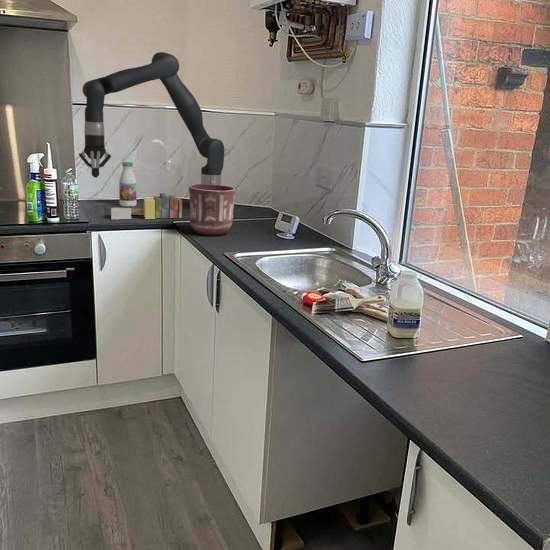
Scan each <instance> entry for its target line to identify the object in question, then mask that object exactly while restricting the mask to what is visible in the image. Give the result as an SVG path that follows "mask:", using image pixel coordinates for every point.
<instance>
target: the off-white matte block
mask: <svg viewBox="0 0 550 550" xmlns="http://www.w3.org/2000/svg"><path fill="white" fill-rule="evenodd" d="M110 209H111V211H110V218H111V220H119V219H131V220H132V216H131V209H132V208H131V207H111V208H110Z"/></svg>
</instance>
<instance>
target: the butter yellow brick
mask: <svg viewBox="0 0 550 550" xmlns="http://www.w3.org/2000/svg"><path fill="white" fill-rule="evenodd" d="M143 209H144V216H143V218H144V217H145V218H144V220H145V219H155V220H156V218H155V200H154V198H144V199H143Z"/></svg>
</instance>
